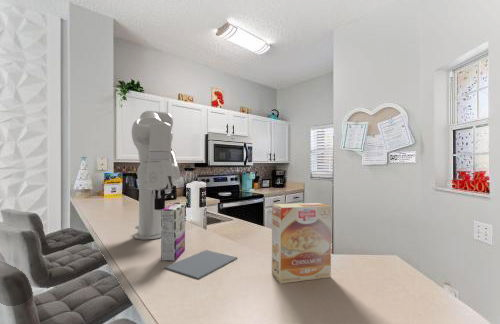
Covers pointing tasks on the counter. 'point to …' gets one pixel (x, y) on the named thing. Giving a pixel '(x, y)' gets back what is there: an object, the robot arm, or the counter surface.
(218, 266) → the mat
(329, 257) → the coffeecake box
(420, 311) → the counter surface
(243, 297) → the counter surface
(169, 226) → the candy bar box
